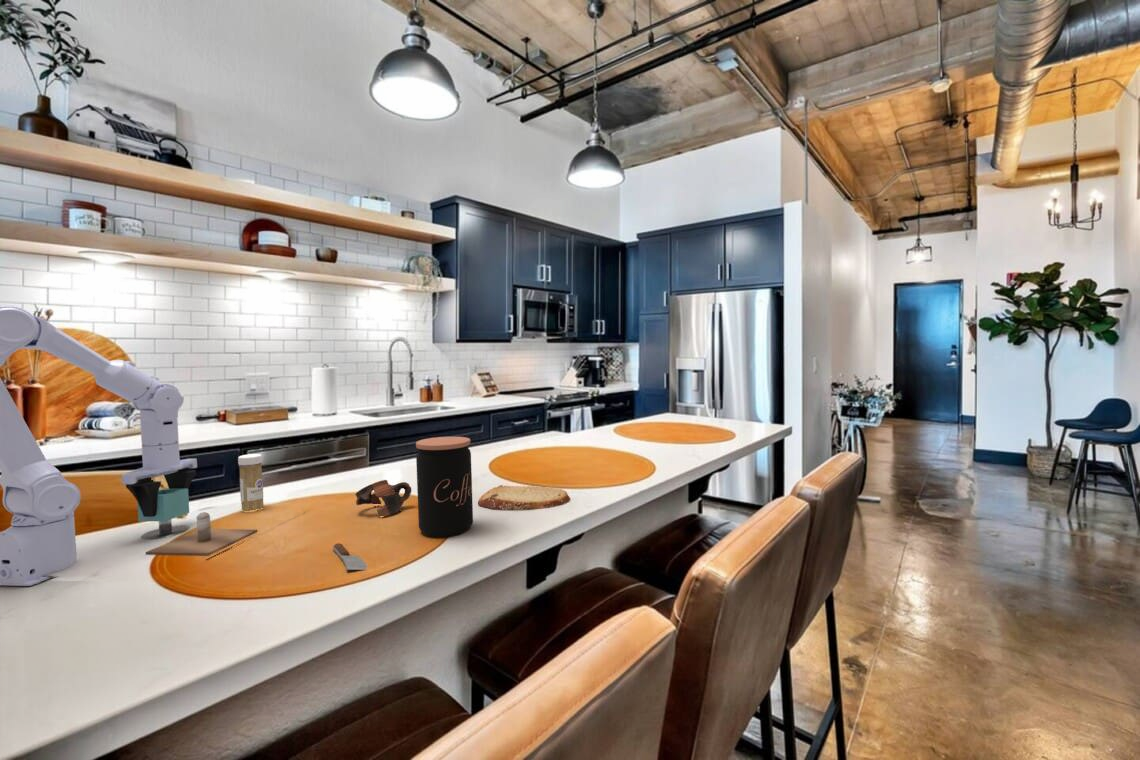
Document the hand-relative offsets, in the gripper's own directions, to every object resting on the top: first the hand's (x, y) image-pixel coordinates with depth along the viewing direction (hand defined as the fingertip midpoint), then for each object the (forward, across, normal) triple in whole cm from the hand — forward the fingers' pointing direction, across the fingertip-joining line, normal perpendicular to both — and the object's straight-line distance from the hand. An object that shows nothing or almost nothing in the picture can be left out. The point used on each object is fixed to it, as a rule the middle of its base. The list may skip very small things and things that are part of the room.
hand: (164, 511), depth 100 cm
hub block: (+5, -5, -13) cm, 15 cm away
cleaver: (+6, -9, -45) cm, 46 cm away
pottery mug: (+5, +18, -38) cm, 42 cm away
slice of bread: (+6, +26, -68) cm, 73 cm away
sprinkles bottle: (+5, +15, -7) cm, 17 cm away
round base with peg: (+5, 0, 0) cm, 5 cm away
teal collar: (+1, 0, 0) cm, 1 cm away
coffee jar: (+5, +6, -56) cm, 57 cm away
